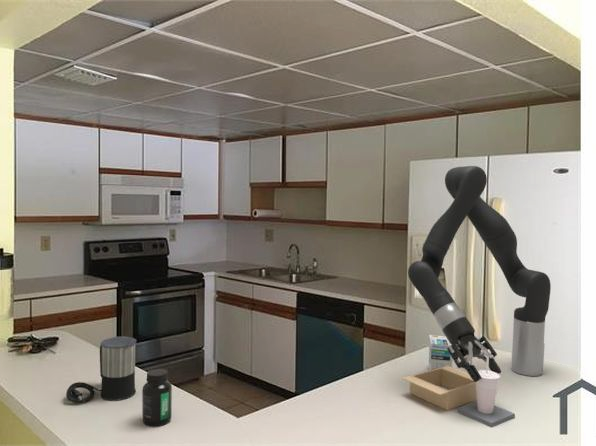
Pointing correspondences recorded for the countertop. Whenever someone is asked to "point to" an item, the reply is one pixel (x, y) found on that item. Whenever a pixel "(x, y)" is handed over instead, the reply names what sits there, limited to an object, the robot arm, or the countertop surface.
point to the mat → (488, 419)
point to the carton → (447, 377)
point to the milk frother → (111, 372)
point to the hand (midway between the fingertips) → (488, 377)
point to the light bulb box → (439, 352)
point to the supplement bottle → (157, 399)
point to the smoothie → (487, 389)
